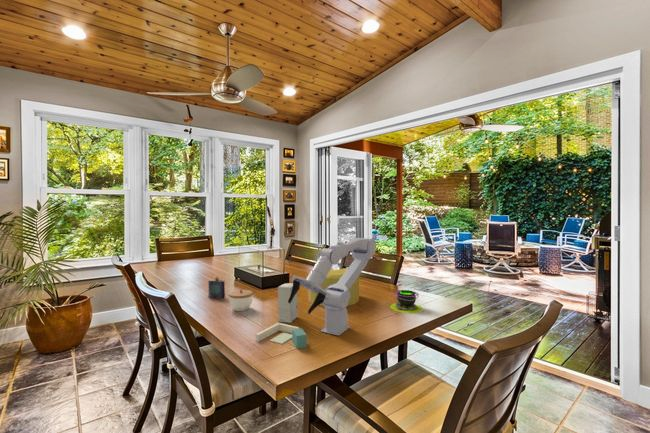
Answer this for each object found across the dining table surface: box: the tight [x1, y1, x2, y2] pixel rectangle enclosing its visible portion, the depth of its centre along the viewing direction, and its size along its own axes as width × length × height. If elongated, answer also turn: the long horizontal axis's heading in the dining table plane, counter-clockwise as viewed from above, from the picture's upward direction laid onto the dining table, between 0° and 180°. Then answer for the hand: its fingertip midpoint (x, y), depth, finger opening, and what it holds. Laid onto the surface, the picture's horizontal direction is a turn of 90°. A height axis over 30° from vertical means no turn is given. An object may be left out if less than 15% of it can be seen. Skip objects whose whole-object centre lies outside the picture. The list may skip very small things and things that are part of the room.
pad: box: [269, 332, 292, 345], centre depth 118 cm, size 8×6×1 cm
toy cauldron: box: [389, 283, 423, 314], centre depth 153 cm, size 15×15×11 cm
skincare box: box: [277, 282, 299, 324], centre depth 137 cm, size 8×6×15 cm
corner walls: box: [255, 321, 300, 343], centre depth 119 cm, size 13×10×2 cm
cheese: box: [308, 266, 360, 307], centre depth 167 cm, size 26×26×15 cm
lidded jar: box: [228, 288, 254, 312], centre depth 151 cm, size 11×11×9 cm
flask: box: [207, 276, 226, 299], centre depth 170 cm, size 9×3×11 cm, turn 76°
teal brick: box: [291, 327, 308, 349], centre depth 113 cm, size 6×4×4 cm, turn 20°
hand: (298, 307), depth 109 cm, fingers open, 7 cm apart
